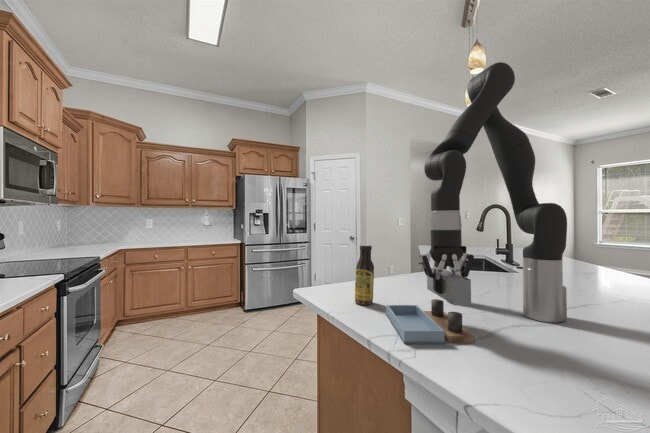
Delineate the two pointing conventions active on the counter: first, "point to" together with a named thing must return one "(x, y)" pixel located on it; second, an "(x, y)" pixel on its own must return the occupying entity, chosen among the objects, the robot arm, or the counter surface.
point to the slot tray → (414, 325)
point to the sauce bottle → (364, 277)
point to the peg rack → (449, 323)
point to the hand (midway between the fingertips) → (446, 292)
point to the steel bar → (453, 288)
